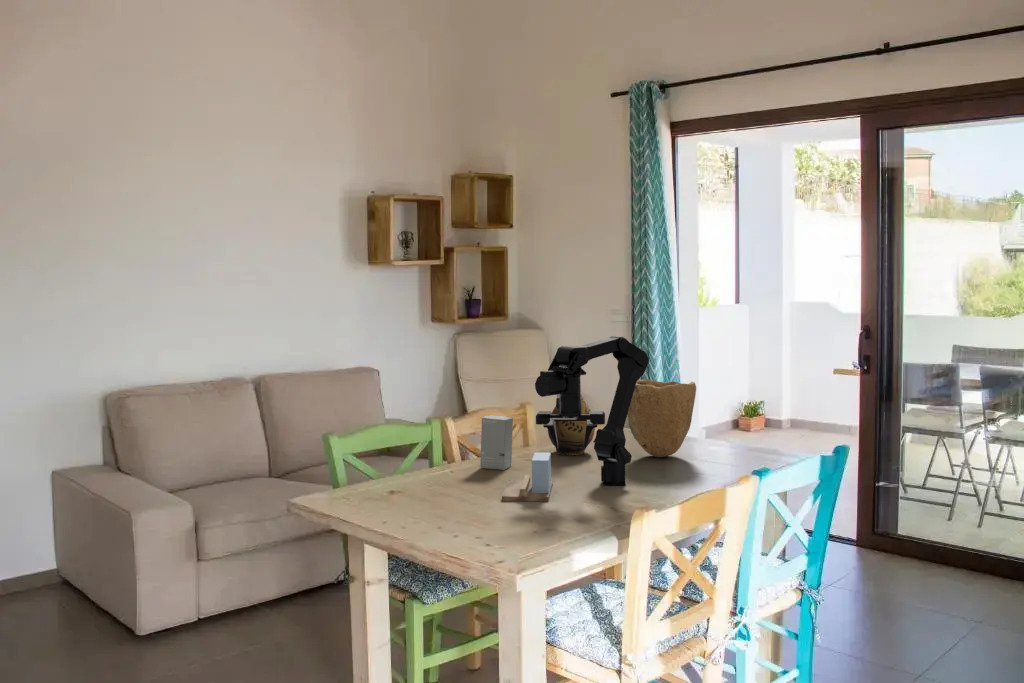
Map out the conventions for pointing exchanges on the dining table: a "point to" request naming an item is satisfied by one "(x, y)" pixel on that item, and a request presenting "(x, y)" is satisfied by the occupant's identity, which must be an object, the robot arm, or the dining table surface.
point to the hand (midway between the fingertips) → (571, 448)
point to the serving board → (523, 491)
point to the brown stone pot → (661, 415)
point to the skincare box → (496, 442)
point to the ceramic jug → (571, 433)
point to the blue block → (541, 472)
